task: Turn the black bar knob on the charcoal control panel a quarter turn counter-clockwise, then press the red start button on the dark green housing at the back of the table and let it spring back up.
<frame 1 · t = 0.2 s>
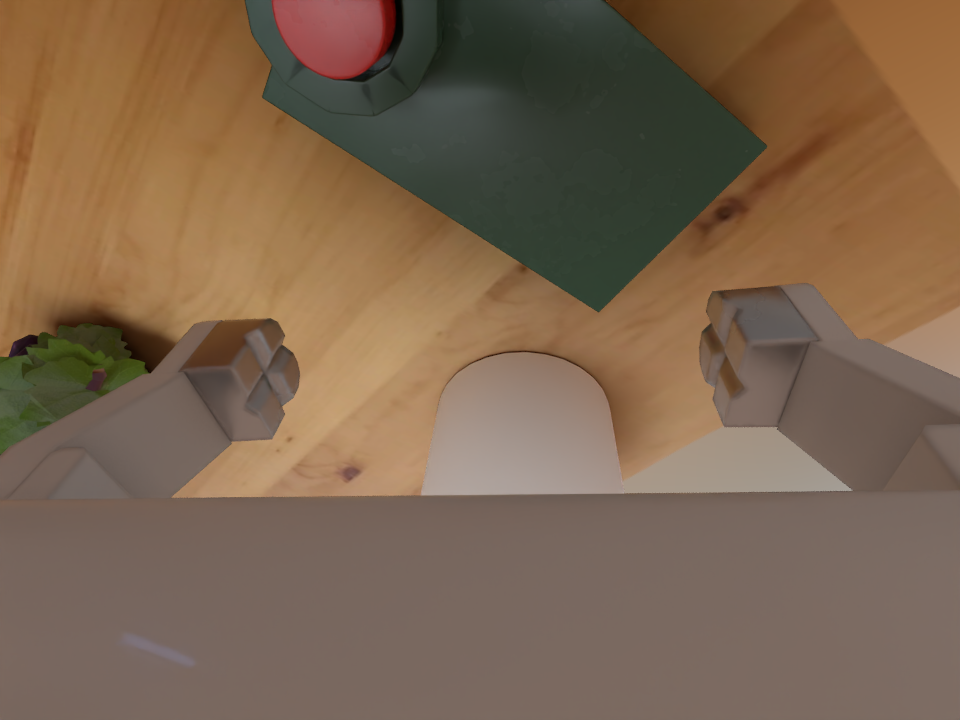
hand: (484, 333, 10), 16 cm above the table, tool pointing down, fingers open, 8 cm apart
start button: (336, 12, 16), point 4 cm above the table, slide at 0.1 cm
fruit: (117, 363, 34), on the table
button housing: (514, 108, 22), on the table
white cylinder: (522, 414, 34), on the table
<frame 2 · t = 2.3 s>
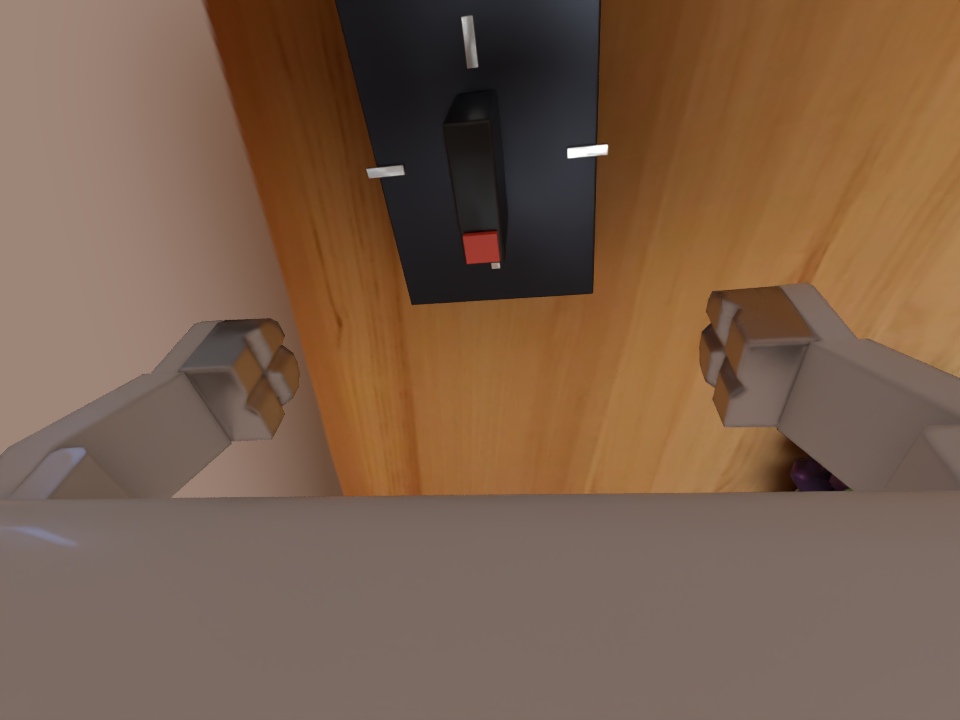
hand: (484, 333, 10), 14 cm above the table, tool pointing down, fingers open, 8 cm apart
oven knob: (479, 180, 16), point 5 cm above the table, hinge at 0.0°
fruit: (844, 453, 31), on the table
knob panel: (489, 135, 20), on the table
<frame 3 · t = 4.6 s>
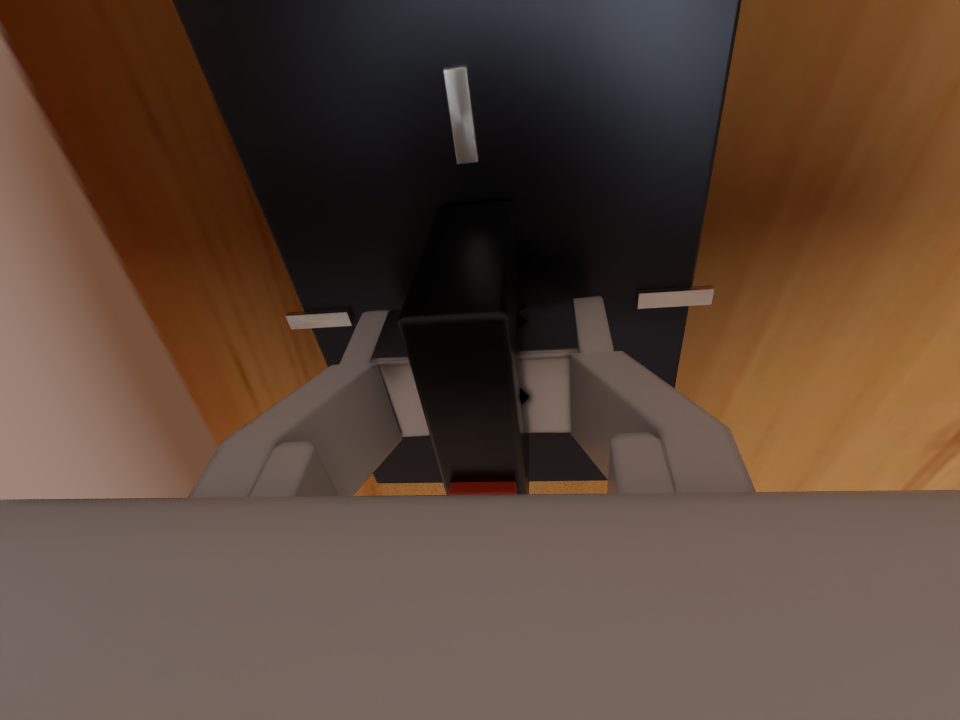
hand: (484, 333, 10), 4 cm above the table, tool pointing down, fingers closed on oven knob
oven knob: (481, 367, 9), point 5 cm above the table, hinge at 0.0°, touching gripper
knob panel: (495, 239, 12), on the table
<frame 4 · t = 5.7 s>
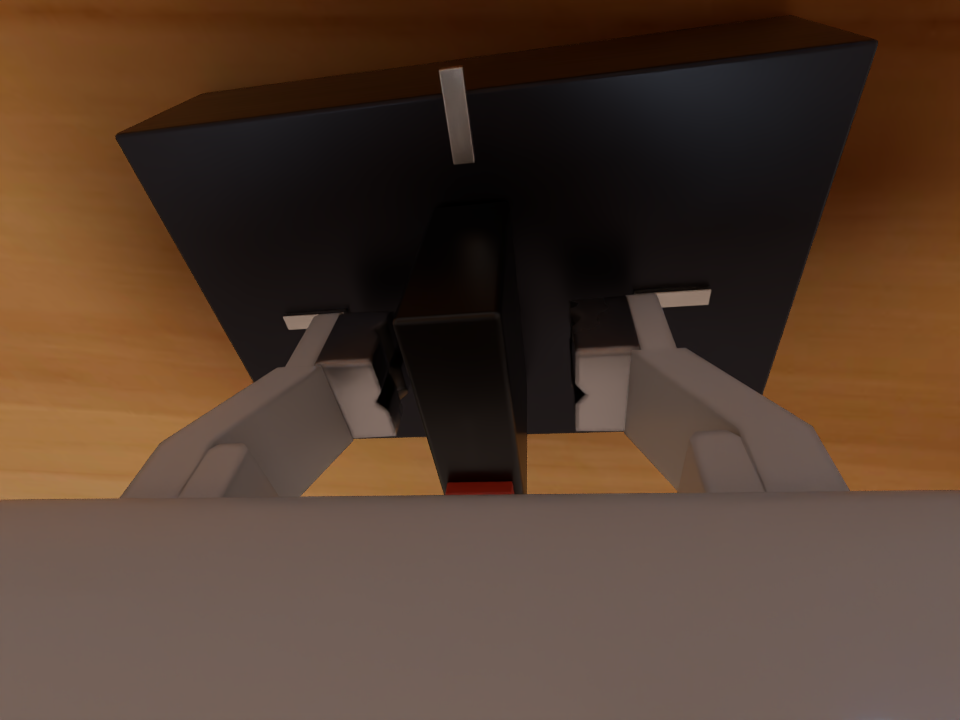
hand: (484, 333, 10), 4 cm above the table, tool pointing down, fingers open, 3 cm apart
oven knob: (478, 368, 9), point 5 cm above the table, hinge at 90.4°
knob panel: (493, 239, 12), on the table
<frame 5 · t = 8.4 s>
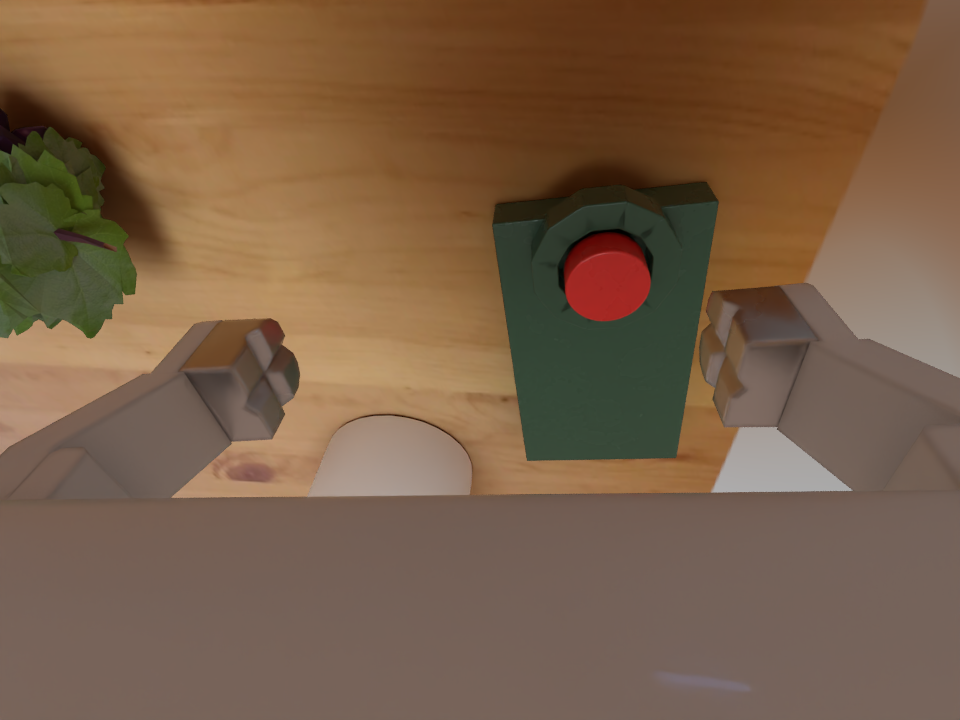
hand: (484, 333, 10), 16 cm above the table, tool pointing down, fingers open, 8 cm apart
start button: (605, 277, 22), point 4 cm above the table, slide at 0.1 cm
fruit: (47, 174, 26), on the table
button housing: (597, 337, 30), on the table
white cylinder: (401, 460, 40), on the table
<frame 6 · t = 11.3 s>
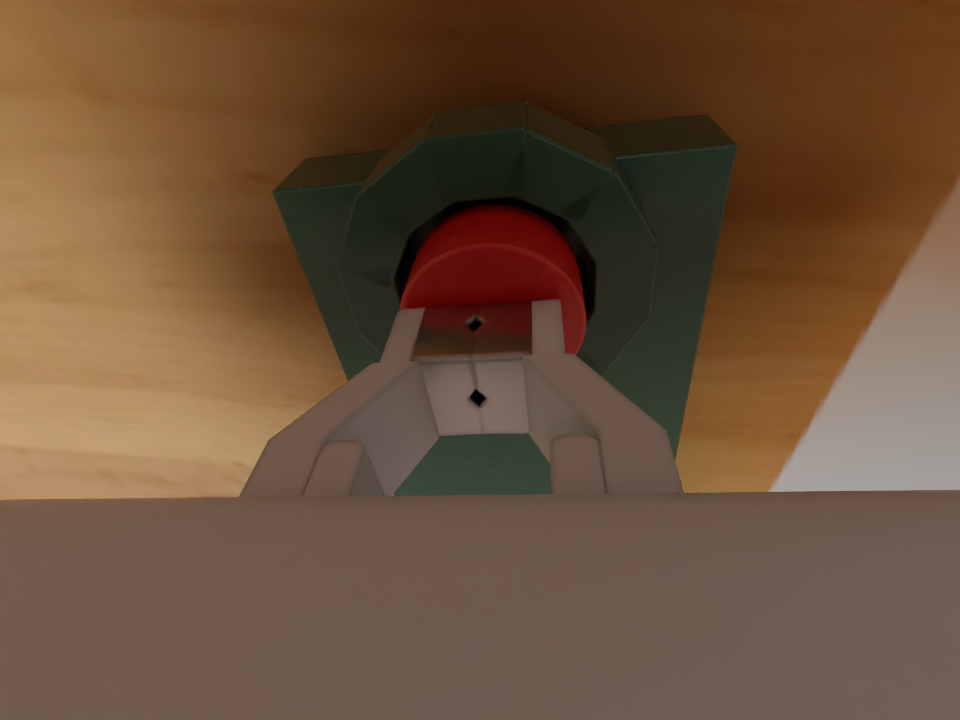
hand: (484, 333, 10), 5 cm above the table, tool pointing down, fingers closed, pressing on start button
start button: (493, 304, 10), point 4 cm above the table, slide at 0.0 cm, touching gripper
button housing: (521, 397, 18), on the table
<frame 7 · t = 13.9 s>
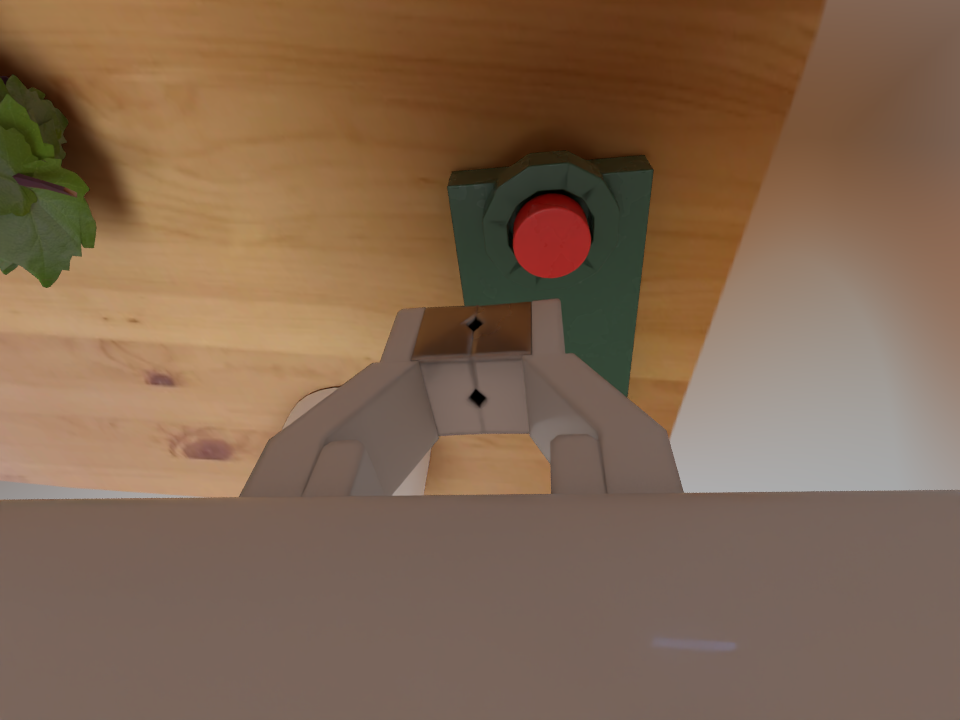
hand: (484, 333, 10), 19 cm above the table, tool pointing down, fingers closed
start button: (550, 236, 24), point 4 cm above the table, slide at 0.1 cm
fruit: (7, 127, 27), on the table
button housing: (548, 307, 31), on the table
white cylinder: (361, 436, 41), on the table
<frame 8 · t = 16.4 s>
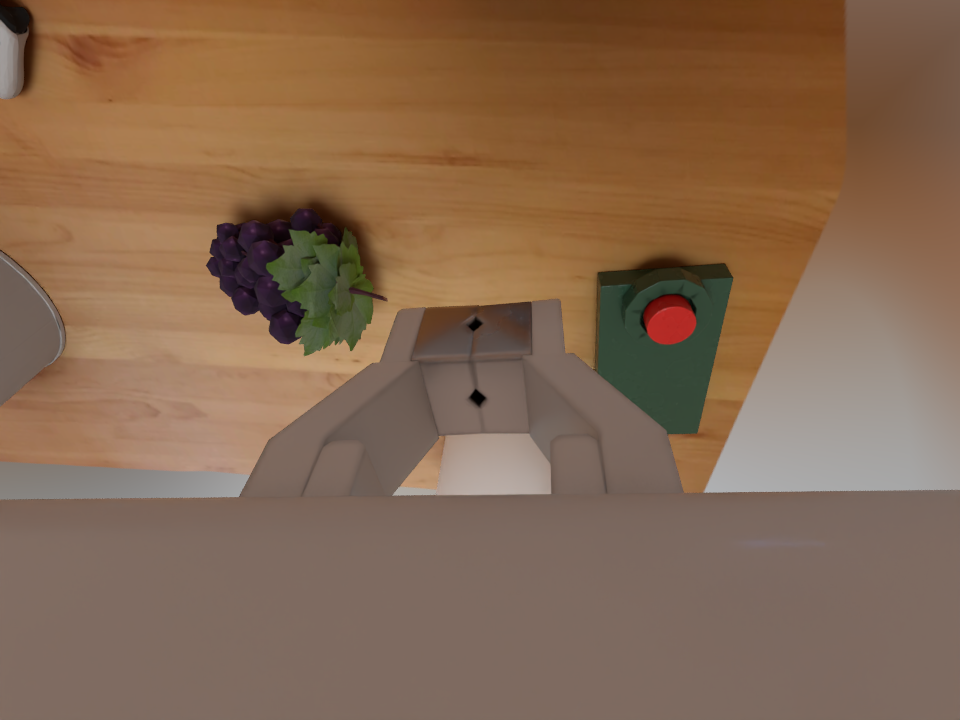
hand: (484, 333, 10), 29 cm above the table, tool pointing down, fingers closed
start button: (669, 319, 38), point 4 cm above the table, slide at 0.1 cm
fruit: (314, 247, 42), on the table
button housing: (650, 352, 46), on the table
white cylinder: (497, 438, 56), on the table
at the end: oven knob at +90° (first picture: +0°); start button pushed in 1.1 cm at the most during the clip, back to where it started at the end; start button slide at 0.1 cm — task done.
